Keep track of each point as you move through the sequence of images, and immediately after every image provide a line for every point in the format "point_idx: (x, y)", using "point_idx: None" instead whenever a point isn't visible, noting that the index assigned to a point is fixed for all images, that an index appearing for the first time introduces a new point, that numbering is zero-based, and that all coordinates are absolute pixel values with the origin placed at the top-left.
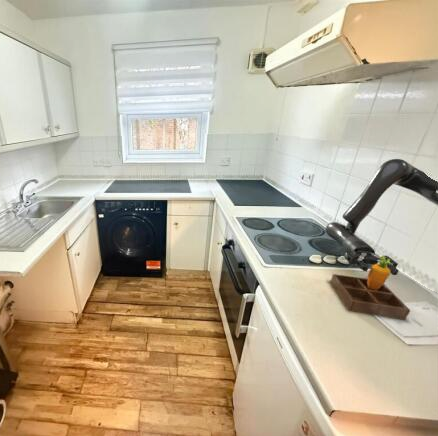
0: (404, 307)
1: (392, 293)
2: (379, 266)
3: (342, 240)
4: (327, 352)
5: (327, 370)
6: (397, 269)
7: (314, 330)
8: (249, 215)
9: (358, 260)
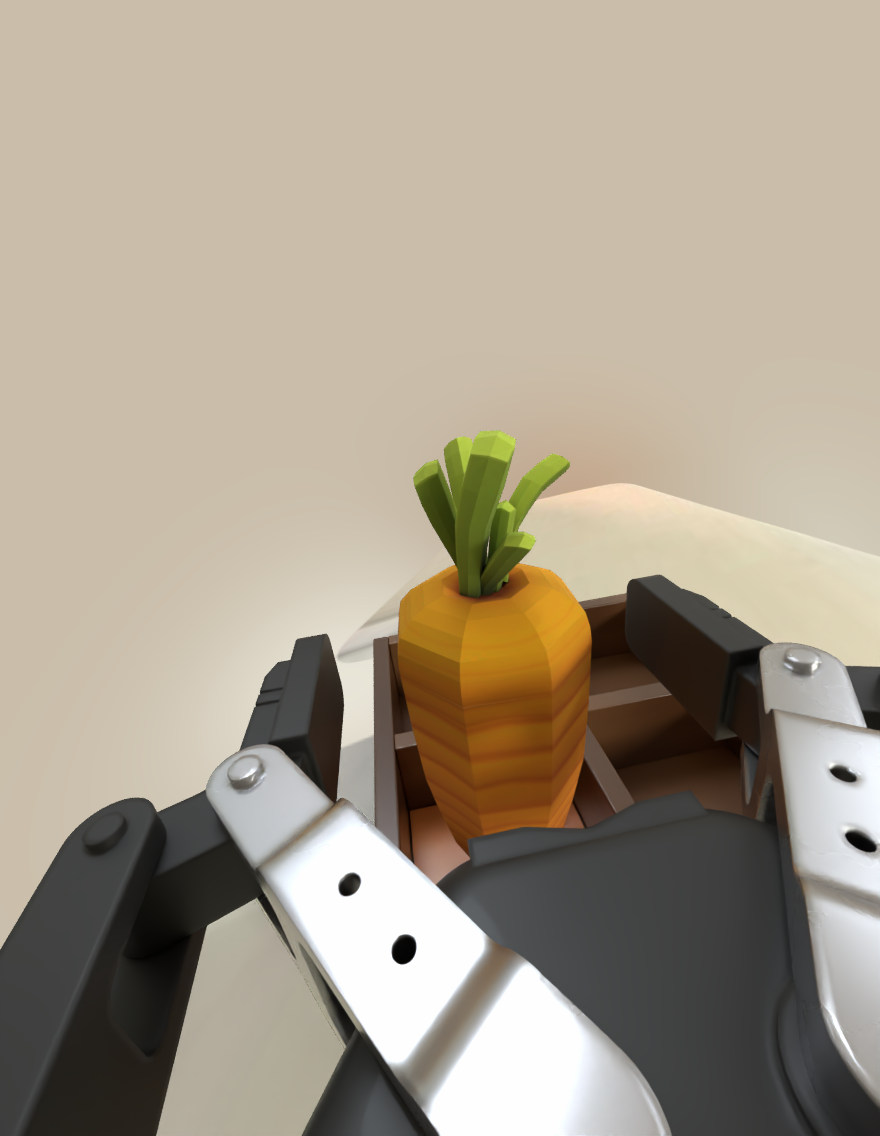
0: (388, 652)
1: (386, 747)
2: (515, 576)
3: None
4: (659, 519)
5: (646, 500)
6: (261, 689)
7: (717, 542)
8: None
9: (807, 654)
